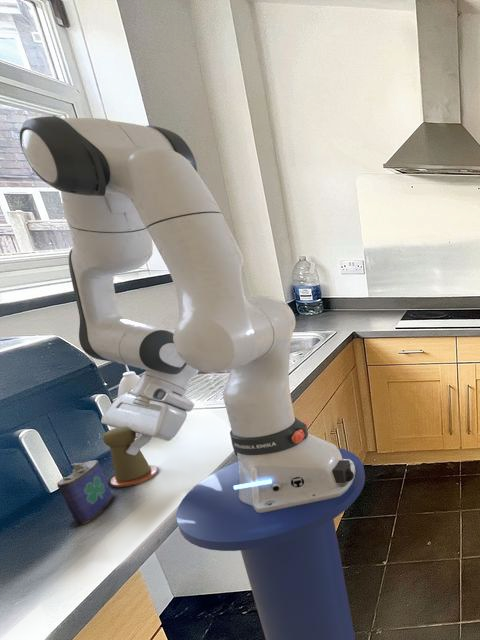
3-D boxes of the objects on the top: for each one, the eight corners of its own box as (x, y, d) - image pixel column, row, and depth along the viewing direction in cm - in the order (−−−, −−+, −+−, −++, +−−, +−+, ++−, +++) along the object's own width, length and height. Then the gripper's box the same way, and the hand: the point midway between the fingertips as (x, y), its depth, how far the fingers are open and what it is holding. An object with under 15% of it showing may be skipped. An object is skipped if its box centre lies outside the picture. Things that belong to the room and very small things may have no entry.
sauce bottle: (142, 430, 115) (121, 368, 109) (120, 427, 116) (98, 366, 110) (169, 418, 122) (151, 360, 116) (148, 416, 124) (129, 358, 117)
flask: (101, 497, 86) (83, 452, 82) (118, 495, 87) (101, 450, 83) (70, 526, 78) (48, 477, 74) (89, 523, 79) (68, 475, 75)
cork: (141, 478, 91) (125, 434, 87) (108, 482, 90) (90, 437, 86) (156, 464, 97) (141, 422, 93) (125, 467, 95) (109, 424, 91)
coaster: (165, 465, 98) (164, 463, 98) (143, 485, 90) (143, 482, 90) (126, 469, 96) (125, 467, 96) (101, 489, 89) (100, 486, 89)
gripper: (114, 383, 96) (76, 439, 91) (173, 395, 90) (136, 456, 85) (142, 394, 102) (107, 447, 97) (199, 406, 95) (166, 464, 90)
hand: (121, 451), depth 91 cm, fingers closed on cork, 4 cm apart
